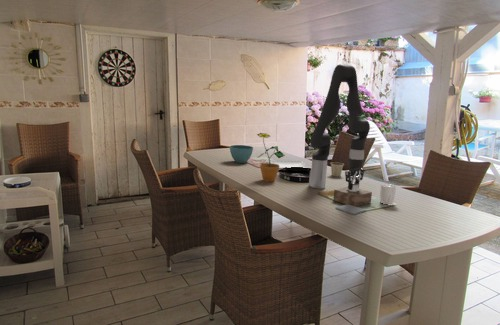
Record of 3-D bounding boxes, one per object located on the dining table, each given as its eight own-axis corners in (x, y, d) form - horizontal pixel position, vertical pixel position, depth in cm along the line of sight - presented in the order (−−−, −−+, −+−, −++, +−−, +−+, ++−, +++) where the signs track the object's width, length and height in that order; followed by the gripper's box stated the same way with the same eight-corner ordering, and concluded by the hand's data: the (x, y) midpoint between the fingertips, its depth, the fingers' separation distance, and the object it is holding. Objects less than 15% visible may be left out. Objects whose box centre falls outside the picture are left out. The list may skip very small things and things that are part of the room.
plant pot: (256, 162, 303) (257, 146, 301) (244, 165, 288) (244, 149, 286) (237, 159, 313) (238, 144, 310) (224, 162, 297) (225, 146, 295)
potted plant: (252, 182, 237) (254, 134, 232) (258, 176, 255) (260, 131, 250) (280, 185, 233) (283, 136, 228) (284, 178, 251) (287, 133, 246)
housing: (333, 200, 206) (334, 189, 205) (349, 196, 215) (350, 186, 214) (354, 207, 196) (355, 195, 195) (370, 202, 204) (371, 192, 203)
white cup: (384, 205, 200) (386, 187, 198) (375, 201, 207) (377, 183, 206) (397, 205, 202) (399, 187, 200) (388, 200, 210) (390, 183, 208)
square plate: (267, 164, 298) (267, 159, 297) (301, 165, 300) (301, 160, 299) (271, 172, 271) (271, 166, 270) (309, 173, 273) (309, 167, 272)
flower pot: (341, 174, 272) (342, 162, 270) (344, 177, 263) (345, 165, 261) (327, 173, 271) (328, 162, 270) (331, 176, 262) (332, 164, 261)
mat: (335, 208, 192) (335, 207, 192) (347, 205, 198) (348, 204, 198) (353, 214, 183) (353, 213, 183) (365, 211, 189) (366, 209, 189)
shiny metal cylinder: (345, 197, 205) (347, 182, 204) (351, 196, 208) (352, 181, 207) (353, 199, 202) (354, 185, 200) (359, 198, 205) (360, 183, 203)
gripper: (358, 155, 208) (355, 185, 211) (342, 157, 199) (339, 188, 202) (370, 157, 202) (367, 188, 206) (353, 160, 193) (350, 192, 197)
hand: (353, 188), depth 204 cm, fingers closed on shiny metal cylinder, 5 cm apart
